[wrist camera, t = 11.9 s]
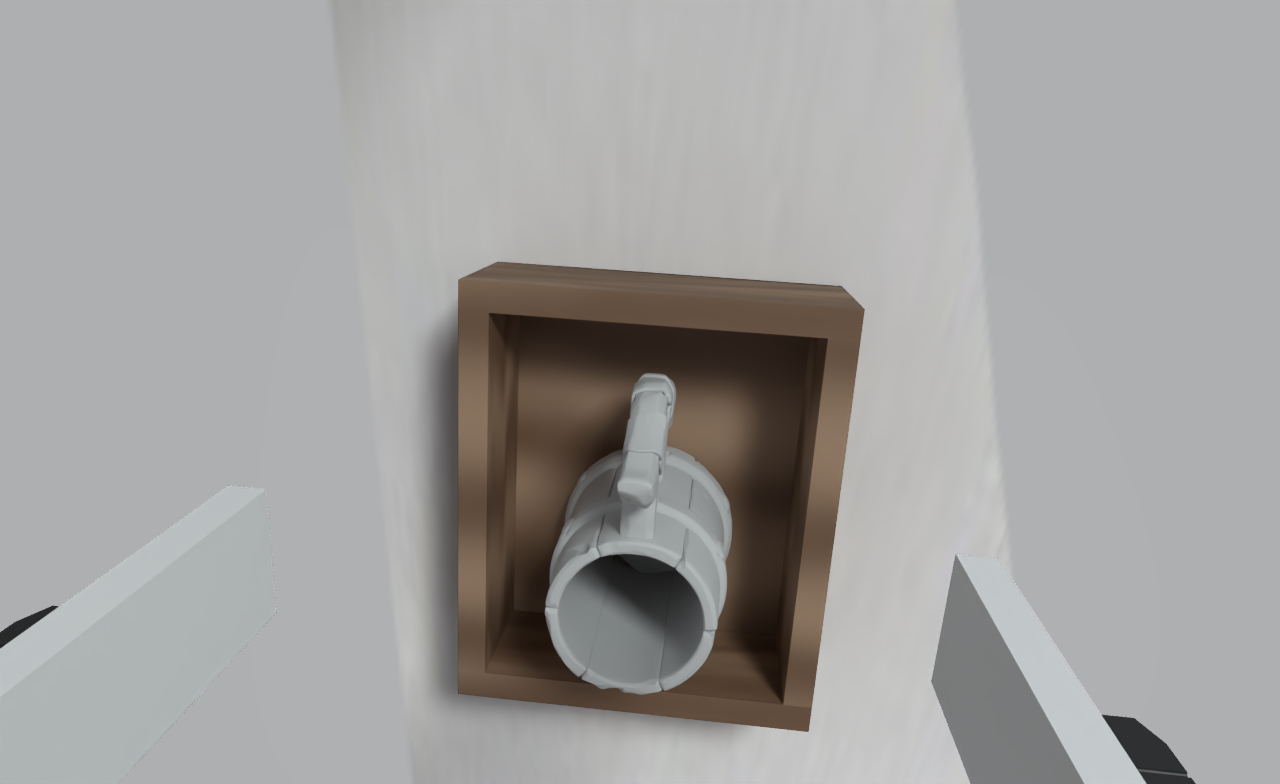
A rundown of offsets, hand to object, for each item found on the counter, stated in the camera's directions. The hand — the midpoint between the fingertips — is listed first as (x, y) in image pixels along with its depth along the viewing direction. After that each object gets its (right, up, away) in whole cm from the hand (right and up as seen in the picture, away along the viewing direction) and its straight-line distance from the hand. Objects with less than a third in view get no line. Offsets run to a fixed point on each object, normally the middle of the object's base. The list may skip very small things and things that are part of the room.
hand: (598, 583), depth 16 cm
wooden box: (+1, 0, +24) cm, 24 cm away
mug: (+1, 0, +24) cm, 24 cm away
